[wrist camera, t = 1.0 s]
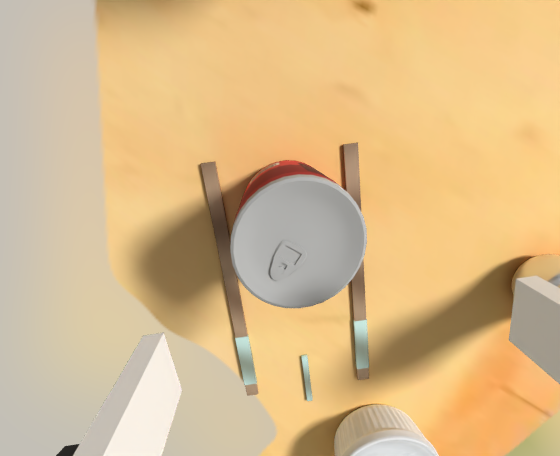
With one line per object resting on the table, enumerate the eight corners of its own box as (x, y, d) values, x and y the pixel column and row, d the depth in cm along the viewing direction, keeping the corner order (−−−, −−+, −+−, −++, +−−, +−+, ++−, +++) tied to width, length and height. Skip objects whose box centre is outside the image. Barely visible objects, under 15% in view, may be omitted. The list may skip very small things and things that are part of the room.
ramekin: (361, 380, 34) (378, 424, 29) (437, 415, 36) (466, 461, 31) (308, 447, 36) (315, 498, 31) (383, 476, 38) (401, 528, 33)
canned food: (233, 234, 28) (214, 294, 17) (255, 147, 26) (250, 156, 15) (312, 254, 29) (340, 322, 18) (340, 172, 27) (389, 197, 16)
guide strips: (200, 163, 26) (199, 163, 25) (357, 142, 26) (358, 142, 26) (249, 407, 34) (249, 410, 34) (369, 390, 34) (370, 393, 34)
